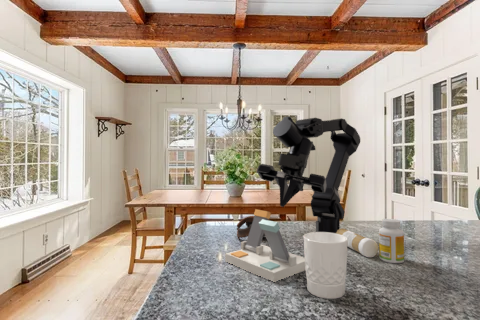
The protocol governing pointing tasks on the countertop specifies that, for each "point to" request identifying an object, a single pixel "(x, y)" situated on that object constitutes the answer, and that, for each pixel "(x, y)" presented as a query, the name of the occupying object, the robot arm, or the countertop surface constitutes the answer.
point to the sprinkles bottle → (359, 243)
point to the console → (265, 262)
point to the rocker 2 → (275, 240)
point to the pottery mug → (245, 231)
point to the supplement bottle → (391, 241)
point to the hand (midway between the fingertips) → (281, 206)
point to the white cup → (325, 264)
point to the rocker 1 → (256, 230)
